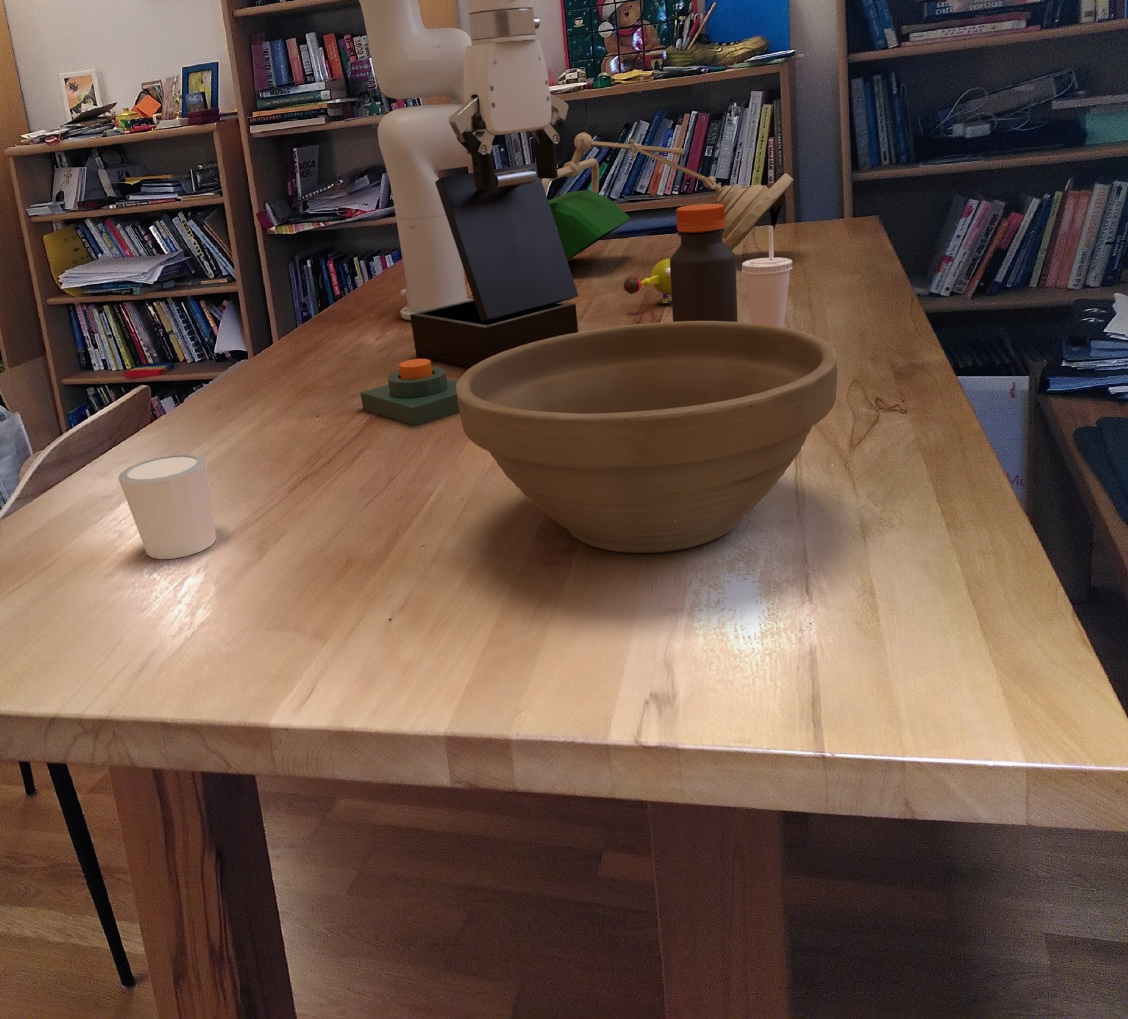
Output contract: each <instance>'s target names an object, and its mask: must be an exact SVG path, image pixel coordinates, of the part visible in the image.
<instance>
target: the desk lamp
mask: <svg viewBox="0 0 1128 1019" xmlns="http://www.w3.org/2000/svg"><path fill="white" fill-rule="evenodd" d="M592 138H593V137H592V136H591V135H590V134H588V133H586V132H580V133H578V134H577V135H576V136H575V138H574V142H573V144H574V147H575V150H574V153H573V156H572V158H571V160H570V161H568V162H565V163H564V164H563V166H562V168H557V172H558V177H557V178H554V179H547V178H541V180H542V184H543V187H544V190H545V193H546V196H548V187H549V185H550V182H553V181H555V180H557V179H560V178H563V177H566V178H574V177H576V176H577V175H580V174H581V172H582V171H583V170H587V169H589V168H591V189H584V190H577V191H576V190H575V191H570V192H566V193H564V194H561V195H558V196H556V197H554V198H552V199H551V198H550V199H548V202H549V205H550V209H551V212H552V215H553V218H554V221H555V224H556V227H557V230H558V234H559V237H560V240H561V243H562V246H563V249H564V252H565V255H566V259H567V262H569V260H571V259H573V258H574V257H575V256H578V255H579V254H581V253H582V252H583V251H585V250H586V249H588V248H589V247H591V246H593V245H595V243H597V242H598V241H600V240H602V239H603V238H605V237H607V236H608V235H609V234H611V233H612V232H613V231H616V230H617V229H618V228H620V227H621V226H623V225H625V224H626V223H628V222H629V221H630V220H632V218H631V217H630V216H629V215H628V214H627V213H626V212H625V211H623V210H622V208H620V207H619V206H618V205H617V204H616V203H615V202H614V201H612V200H611V199H610V198H609V197H607V196H605V195H602V194H600V193H599V188H600V164H599V162H598V160H597V158H593V157H592V158H588V159H586V160H585V159H584V160H581V158H582V156H583V154H584V153H587V152H590V150H591V149H592V147H603V148H613V149H624V150H629V152H630V153H631V158H636V157H637V156H636V153H635V152H639V153H640V154H643V155H645V156H647V157H649V158H651V159H654V160H656V161H658V162H661V163H662V164H665V165H667V166H669V167H672V168H674V169H676V170H678V171H680V172H683V173H684V174H687V175H688V176H690V177H692V178H695V179H698V180H699V181H702V184H703V186H704V187H705V188H709V189H710V190H713V191H715V193H716V195H715V198H716V204H723V205H724V206H725V227H724V228H723V229H725V232H723V233H722V237H723V239H724V240H723V242H724V243H725V244H726V245H727V246H728V247H729V248H730V249H731V250H732V251H733V250H734V249H735V248H736V247H738V245H739V244H740V243H741V242H742V241H743V240H744V239H745V238H746V237H747V236H748V234H749V233H750V232H751V231H752V230H753V229H754V228H755V226H757V225H758V223H759V222H760V221H761V220H762V219H763V217H764V216H766V214H767V213H768V212H769V214H770V215H769V216H770V226H773V233H774V232H775V229H776V225H777V222H778V219H779V215H780V211H781V208H782V205H783V202H784V198H785V195H786V191H787V190H788V189H789V188H790V187H791V185H792V184H793V183H794V178H793V177H791V175H789V174H788V173H787V172H785V173H784V174H783V175H782V176H780V178H779V179H778V180H777V181H775V182H774V183H773V185H772V186H771V187H770V188H768V187H767V184H765V185H762V184H754V185H751V184H749V185H748V186H747V187H742V185H741V184H739V183H737V182H735V183H734V184H733V185H727V184H725V185H724V186H722V185H720V184H719V183H718V184H717V183H716V181H717V178H716V177H715V176H714V175H710V176H708V177H707V176H705V175H702V174H700V173H698V172H696V171H693V170H691V169H689V168H687V167H684V166H682V165H680V164H678V163H675V162H673V161H671V160H669V159H667V158H664V157H662V156H659V155H658V154H656V153H665V154H672V155H677V156H684V154H685V149H684V148H681V147H680V148H679V147H672V148H671V147H663V146H662V147H660V146H651V145H643V144H641V143H637V142H635V140H634V139H633V138H630V139H629V143H619V142H609V141H608V142H607V141H597V140H593V139H592ZM653 152H654V153H653ZM580 160H581V161H580Z"/></svg>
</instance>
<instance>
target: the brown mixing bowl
mask: <svg viewBox="0 0 1128 1019" xmlns="http://www.w3.org/2000/svg"><path fill="white" fill-rule="evenodd" d="M456 382H457V384H456V391H457V401H458V406H459V411H460V412H459V416H460V420H461V426H462V430H463V432H464V434H465V436H466V437H467V438H468V439H469V440H470V442H472V443H473V444H475V445H476V446H477V447H479V448H481V449H483V450H485V451H487V452H489V453H490V455H491V457H492V459H494V460H495V462H496V464H497V466H498V467H499V468H500V469H501V470H502V472H503V473H504V475H505V476H506V477H507V479H509V480H510V481H511V482H512V483H513V484H514V485H515V486H516V487H517V488H518V489H519V490H520V492H521V493H523V495H524V496H525V497H527V498H528V499H529V500H530V501H531V502H532V503H533V504H534V505H536V506H537V508H539V509H540V510H541V511H542V512H543V513H545V514H546V515H547V516H548V517H550V518H551V519H552V520H554V521H555V522H556V523H558V524H559V525H560V526H562V527H563V528H565V529H566V530H567V531H568V533H570V535H572V536H573V537H574V538H575V539H577V540H578V541H580V542H581V543H584V544H585V545H588V546H591V547H593V548H597V549H601V550H606V551H611V552H618V553H627V554H628V553H629V554H653V553H666V552H673V551H678V550H684V549H689V548H694V547H697V546H700V545H703V544H707V543H711V542H712V541H714V540H717V539H720V538H721V537H723V536H725V535H726V534H728V533H730V532H731V531H733V530H734V529H735V528H736V527H737V526H739V524H740V523H741V522H742V521H743V519H744V517H745V516H746V515H747V514H748V513H749V512H751V510H752V509H753V508H754V507H755V506H757V505H758V504H759V503H760V502H761V501H762V499H763V498H764V497H765V496H767V494H769V492H770V491H771V490H772V488H774V486H775V485H776V484H777V483H778V482H779V480H780V479H781V478H782V477H783V475H785V473H786V471H787V469H788V468H789V467H790V466H791V464H792V463H793V462H794V460H795V459H796V457H798V455H799V454H800V453H801V450H802V447H803V446H804V445H805V443H806V441H807V437H808V435H809V434H810V433H811V431H812V429H813V426H815V425H817V424H819V422H821V421H822V420H824V418H826V417H827V416H828V414H829V413H830V412H831V411H832V409H833V408H834V406H835V402H836V399H837V385H838V384H837V383H838V355H837V352H836V350H835V349H834V348H833V346H832V345H830V344H829V343H828V342H827V341H825V340H824V339H821V338H820V337H818V336H816V335H812V334H810V333H807V332H804V331H801V330H797V329H792V328H788V327H785V326H784V327H779V326H774V325H767V324H757V323H752V322H743V321H738V322H725V321H682V322H673V321H660V322H659V321H658V322H646V323H636V324H626V325H618V326H609V327H603V328H597V329H588V330H583V331H578V332H577V333H572V334H567V335H562V336H557V337H553V338H548V339H544V340H540V341H536V342H532V343H529V344H526V345H522V346H519V347H516V348H513V349H510V350H507V351H504V352H501V353H499V354H496V355H494V356H492V357H489V358H487V359H485V360H483V361H481V362H479V363H478V364H476V365H474V366H473V367H471V368H470V369H466V371H465V372H464V373H463V374H462V375H461V376H460V377H459V378H458V380H457V381H456Z"/></svg>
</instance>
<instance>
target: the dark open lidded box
mask: <svg viewBox="0 0 1128 1019" xmlns="http://www.w3.org/2000/svg"><path fill="white" fill-rule="evenodd" d="M471 299H472V300H468V301H464V302H460V303H455V304H451V305H447V306H443V307H439V308H435V309H431V310H427V311H423V312H418V313H414V314H410V318H411V320H410V324H411V331H412V336H413V344H414V350H415V357H416V359H428V360H430V361H431V362H434V363H439V364H442V365H447V366H452V367H455V368H456V367H457V368H461V369H465V370H468V369H470V368H471V367H473V366H474V365H476V364H478V363H479V362H481V361H483V360H485V359H487V358H489V357H492V356H494V355H496V354H499V353H501V352H504V351H507V350H510V349H513V348H516V347H519V346H522V345H526V344H529V343H532V342H536V341H540V340H544V339H548V338H553V337H557V336H562V335H567V334H572V333H577V332H579V326H578V325H579V324H578V315H577V304H576V303H573V302H566V301H562V302H559V303H555V304H551V305H547V306H543V307H540V308H536V309H532V310H528V311H524V312H520V313H517V314H513V315H509V316H505V317H501V318H497V319H494V320H490V321H486V322H481V319H480V316H479V313H478V310H477V307H476V304H475V301H474V298H471Z"/></svg>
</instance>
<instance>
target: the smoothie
mask: <svg viewBox="0 0 1128 1019" xmlns="http://www.w3.org/2000/svg"><path fill="white" fill-rule="evenodd" d="M774 254H775V252H774V232H773V226H771V225H769V226H768V257H760V258H759V257H758V258H753V259H748V260H746V261H743V262H742V263H741V273H743V274H744V280H745V287H746V293H747V300H748V308H749V314H750V320H751V323H757V324H767V325H774V326H779V327H784V328H785V319H786V310H787V302H788V294H789V285H790V274H791V271H792V270H793V260H792V259H791V258H787V257H774V256H775V255H774Z"/></svg>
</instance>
